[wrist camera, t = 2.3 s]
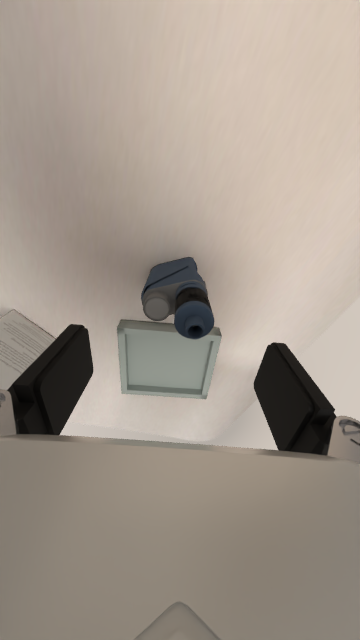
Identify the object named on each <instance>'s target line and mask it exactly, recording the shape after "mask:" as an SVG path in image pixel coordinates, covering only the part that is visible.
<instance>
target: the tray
mask: <svg viewBox="0 0 360 640" xmlns="http://www.w3.org/2000/svg"><path fill="white" fill-rule="evenodd" d="M117 333H118V348H119V362H120V377H121V391H122V394H135V395H150V396H165V397H181V398H196V399H206V398H207V394H208V390H209V386H210V382H211V378H212V374H213V370H214V366H215V362H216V357H217V353H218V349H219V345H220V341H221V337H222V336H221V332H220V329H219V328H215V327H213V328H212V330H211V331H210V332H209V333H208V334H207V335H206V336H204V337H202V338H200V339H196V340H195V339H189V338H185V337H183V336H182V335H180V334H179V333H178V332H177V330H176V328H175V325H174V324H167V323H155V322H143V321H131V320H121V321H120V323H119V325H118V327H117Z"/></svg>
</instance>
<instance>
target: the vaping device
mask: <svg viewBox="0 0 360 640" xmlns="http://www.w3.org/2000/svg"><path fill="white" fill-rule="evenodd" d="M141 300H142V304H143V311H144V313H145V315H146V316H147V317H148V318H149V319H151V320H154V321H161V320H164V319H166V318H167V317H168V316H169V315H172V314H175V317H174V325H175V328H176V330H177V332H178V333H179V334H180V335H182V336H183V337H185V338H189V339H195V340H196V339H200V338H202V337H204V336H206V335H207V334H208V333H209V332H210V331H211V330H212V328H213V326H214V317H213V313H212V310H211V306H210V303H209V300H208V294H207V289H206V285H205V281H203V279H202V277H201V276H200V275H199V274H198V273H197V265H196V263H195V261H194V259H193V258H192V257H187V258H183V259H179V260H175V261H171V262H167V263H163V264H159V265H157V266H155V267H154V268H153V269H152V270H151V272H150V274H149V277H148V279H147V282H146V284H145V286H144V289H143V291H142V295H141Z"/></svg>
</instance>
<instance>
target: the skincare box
mask: <svg viewBox="0 0 360 640" xmlns="http://www.w3.org/2000/svg"><path fill="white" fill-rule="evenodd" d="M55 340H56V339H55V338H54V337H52V336H51V335H49V334H48V333H46V332H45V331H44V330H42V329H41V328H39V327H38V326H36V325H35V324H34V323H32V322H31V321H29V320H28V319H27V318H25V317H24V316H22V315H21V314H20V313H18V312H17V311H15V310H12V311H11V312H9V313H8V314H6V315H4V316H3V317H1V318H0V389H4V390H8V389H9V387H10V386H11V385H12V384H13V382H14V381H15V380H16V379H17V378H18V377H19V376H20V375H21V374H22V373H23V372H24V371H25V370H26V369H27V368H28V367H29V366H30V365H31V364H32V363H33V362H34V361H35V360H36V359H37V358H38V357H39V356H40V355H41V354H42V353H43V352H44V351H45V350H46V349H47V348H48V347H49V346H50V345H51V344H52V343H53V342H54V341H55Z"/></svg>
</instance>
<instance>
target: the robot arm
mask: <svg viewBox="0 0 360 640" xmlns="http://www.w3.org/2000/svg"><path fill="white" fill-rule="evenodd" d="M92 374H93V363H92V356H91V349H90V341H89V334H88V330H87V329H86V328H85V327H84V326H83V325H74V324H71V325H69V326H68V327H67V328H66V329H65V330H64V331H63V332H62V333H61V334H60V335H59V336H58V337H57V338H56V340H55V341H54V342H53V343H52V344H51V345H50V346H49V347H48V348H47V349H46V350H45V351H44V352H43V353H42V354H41V355H40V356H39V357H38V358H37V359H36V360H35V361H34V362H33V363H32V364H31V365H30V366H29V367H28V368H27V369H26V370H25V371H24V372H23V373H22V374H21V375H20V376H19V377H18V378H17V379H16V380H15V381H14V382H13V384H12V385H11V386H10V387H9V389H8V390H4V389H0V640H360V422H359V421H358V420H356V419H353V418H351V417H347V416H338V417H336V415H335V414H334V411H335V409H334V408H333V406H332V405H331V404H330V403H329V401H328V400H327V398H326V397H325V396H324V394H323V393H322V392H321V391H320V389H319V388H318V386H317V385H316V384H315V383H314V381H313V380H312V379H311V377H310V376H309V375H308V373H307V372H306V371H305V369H304V368H303V367H302V365H301V364H300V363H299V361H298V360H297V359H296V357H295V356H294V355H293V353H292V352H291V351H290V349H289V348H288V347H287V345H286V344H284V343H274V342H273V343H272V344H271V345H268V347H267V349H266V352H265V354H264V357H263V360H262V362H261V365H260V368H259V370H258V373H257V376H256V378H255V381H254V389H255V392H256V394H257V397H258V400H259V402H260V404H261V407H262V410H263V412H264V414H265V417H266V420H267V422H268V425H269V427H270V430H271V432H272V435H273V437H274V440H275V443H276V445H277V448H278V450H279V451H278V450H266V449H253V448H239V447H227V446H213V445H200V444H185V443H172V442H158V441H142V440H128V439H113V438H98V437H82V436H63V435H60V433H61V431H62V429H63V428H64V426H65V424H66V422H67V420H68V418H69V417H70V415H71V413H72V411H73V409H74V407H75V406H76V404H77V402H78V400H79V398H80V397H81V395H82V393H83V391H84V389H85V387H86V386H87V384H88V382H89V380H90V378H91V376H92Z"/></svg>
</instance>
